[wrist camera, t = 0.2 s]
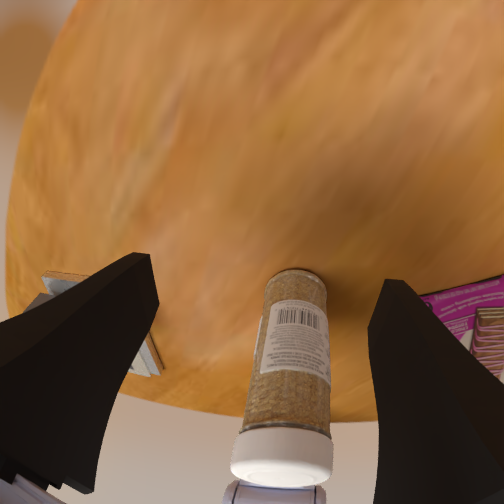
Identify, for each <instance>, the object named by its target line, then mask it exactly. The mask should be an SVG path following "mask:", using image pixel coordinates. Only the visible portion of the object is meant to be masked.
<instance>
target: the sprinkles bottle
mask: <svg viewBox="0 0 504 504" xmlns="http://www.w3.org/2000/svg"><path fill="white" fill-rule="evenodd" d="M264 299H265V301H264V307H263V313H262V317H261V319H260V323H259V329H258V334H257V339H256V345H255V351H254V363H253V370H252V374H251V379H250V385H249V390H248V396H247V403H246V408H245V412H244V413H245V414H244V420H243V426H242V428H241V429H240V431H239V435H238V436H237V437H236V439H235V442H234V447H233V452H232V459H231V465H230V469H231V472H232V473H233V474H234V475H235V476H237V477H238V478H241V479H243V480H245V481H248V482H252V483H256V484H260V485H266V486H273V487H303V486H310V485H315V484H318V483H321V482H324V481H326V480H327V479H328V478H330V476H331V475H332V466H333V443H332V441H331V434H330V392H331V372H330V345H329V327H328V320H327V313H326V300H327V290H326V288H325V285H324V284H323V282H322V281H321V280H320V279H319V278H318V277H317V276H316V275H315V274H312V273H310V272H307V271H303V270H287V271H283V272H281V273H279V274H277V275H275V276H274V277H273V278H271V279H270V280H269V282H268V283H267V285H266V288H265V294H264Z"/></svg>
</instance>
